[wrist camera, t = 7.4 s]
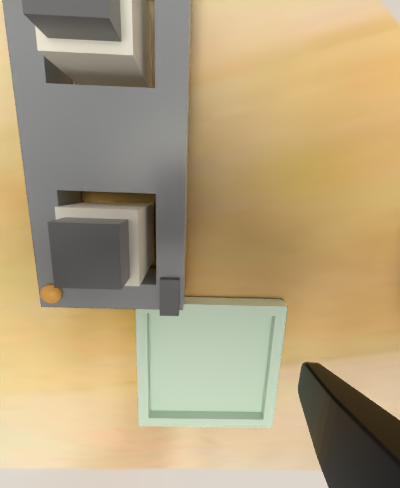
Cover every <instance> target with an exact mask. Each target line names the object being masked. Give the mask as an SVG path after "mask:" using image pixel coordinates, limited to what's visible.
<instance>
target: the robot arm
mask: <svg viewBox="0 0 400 488" xmlns="http://www.w3.org/2000/svg"><path fill="white" fill-rule="evenodd" d="M298 393H299V398H300V401H301V405H302V408H303V411H304V415H305V418H306V422H307V425H308V428H309V432H310V435H311V439H312V442H313V445H314V449H315V452H316V455H317V458H318V461H319V464H320V466H321V469H322V472H323V474H324V477H325V479H326V482H327V484H328V487H329V488H400V420H398V419H397V418H396V417H394V416H393V415H391V414H390V413H389V412H387V411H386V410H384V409H383V408H381V407H380V406H379V405H377V404H376V403H374V402H373V401H372V400H370V399H369V398H367V397H366V396H364V395H363V394H362V393H360V392H359V391H357V390H356V389H355V388H353V387H352V386H350V385H349V384H348V383H346V382H345V381H343V380H342V379H340V378H339V377H338V376H336V375H335V374H333V373H332V372H331V371H329V370H328V369H326V368H325V367H323V366H322V365H321V364H319V363H314V362H304V363H303V364H302V366H301V372H300V378H299V384H298Z"/></svg>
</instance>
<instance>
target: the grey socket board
mask: <svg viewBox="0 0 400 488" xmlns="http://www.w3.org/2000/svg"><path fill="white" fill-rule="evenodd" d="M2 2H3V10H4V18H5V26H6V34H7V41H8V49H9V57H10V65H11V73H12V81H13V89H14V97H15V105H16V113H17V120H18V128H19V136H20V144H21V152H22V160H23V168H24V176H25V184H26V191H27V199H28V207H29V215H30V223H31V231H32V239H33V247H34V255H35V263H36V270H37V278H38V286H39V294H40V302H41V307H67V308H109V309H152V310H160V316H179V310H183V306H184V296H185V272H186V227H187V182H188V137H189V93H190V48H191V3H192V0H154V7H155V88H142V87H120V86H98V85H75V84H72V79H71V78H69V77H68V76H67V75H66V74H65V73H63V72H62V71H61V70H60V69H59V68H58V67H56V66H55V65H54V64H53V63H52V62H50V61H49V60H48V59H47V58H46V57H45V56H43V55H42V54H41V53H40V52H39V51H38V50H37V40H36V31H35V25H34V24H33V23H32V22H31V21H30V20H29V19H28V18H27V17H26V16H25V15H24V14H23V8H22V0H2ZM81 191H94V192H123V193H152V194H156V269H149V270H148V272H147V273H146V275H145V277H144V279H143V281H142V283H141V284H140V286H124V287H123V288H122V290H110V289H74V288H54V280H53V270H52V261H51V252H50V243H49V233H48V224H47V222H49V221H53V220H56V217H55V207H58V206H64V205H70V204H76V203H82V201H81Z"/></svg>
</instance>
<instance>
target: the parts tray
mask: <svg viewBox="0 0 400 488" xmlns="http://www.w3.org/2000/svg"><path fill="white" fill-rule="evenodd" d="M287 308H288V306H287V305H286V304H285V302H284V301H283V300H282V299H254V298H214V297H184V306H183V310H179V316H160V310H152V309H135V312H136V347H137V381H138V416H139V426H183V427H264V428H272V424H273V416H274V409H275V401H276V393H277V385H278V378H279V370H280V362H281V354H282V347H283V339H284V331H285V323H286V316H287Z"/></svg>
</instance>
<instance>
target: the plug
mask: <svg viewBox="0 0 400 488" xmlns="http://www.w3.org/2000/svg"><path fill="white" fill-rule="evenodd" d="M55 217H56V220H53V221H49V222H47V224H48V233H49V243H50V252H51V261H52V270H53V280H54V288H74V289H110V290H122V288H123V287H124V286H140V284H141V283H142V281H143V279H144V277H145V275H146V273H147V272H148V270H149V268H150V266H151V264H152V263H153V261H154V239H153V203H140V202H113V201H88V202H82V203H76V204H70V205H64V206H58V207H55Z"/></svg>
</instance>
